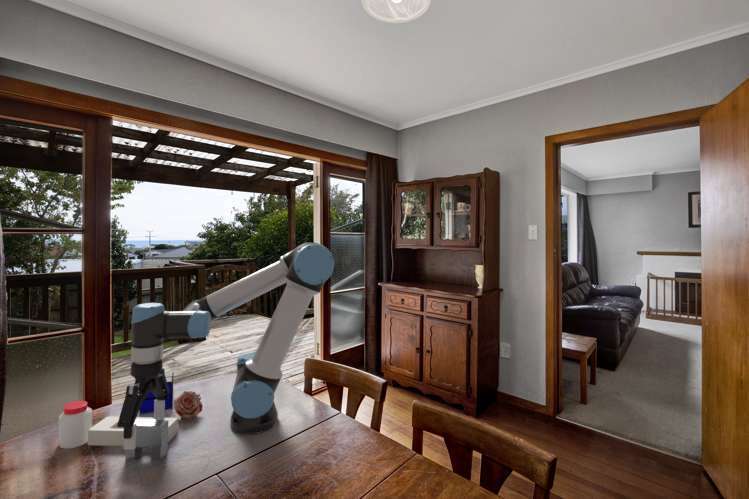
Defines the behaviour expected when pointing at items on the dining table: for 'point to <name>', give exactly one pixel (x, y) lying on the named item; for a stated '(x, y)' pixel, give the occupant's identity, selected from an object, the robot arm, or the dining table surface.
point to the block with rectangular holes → (120, 431)
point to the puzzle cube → (149, 401)
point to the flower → (188, 405)
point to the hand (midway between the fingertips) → (145, 434)
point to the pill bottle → (74, 424)
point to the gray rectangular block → (150, 439)
